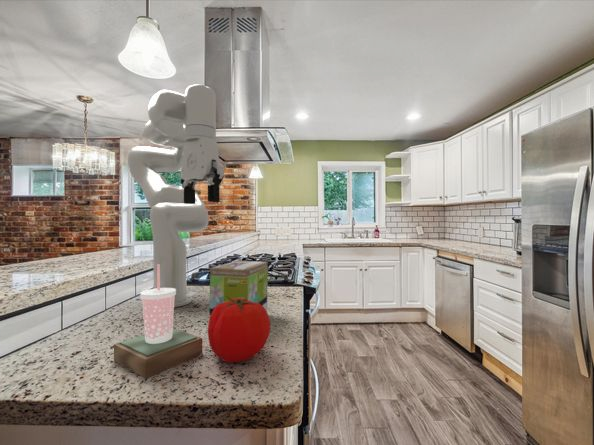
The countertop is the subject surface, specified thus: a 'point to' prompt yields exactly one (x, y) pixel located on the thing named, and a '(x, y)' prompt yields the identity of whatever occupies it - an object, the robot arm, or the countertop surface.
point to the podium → (157, 353)
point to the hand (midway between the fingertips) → (201, 202)
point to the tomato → (238, 329)
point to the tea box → (239, 282)
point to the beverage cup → (158, 312)
